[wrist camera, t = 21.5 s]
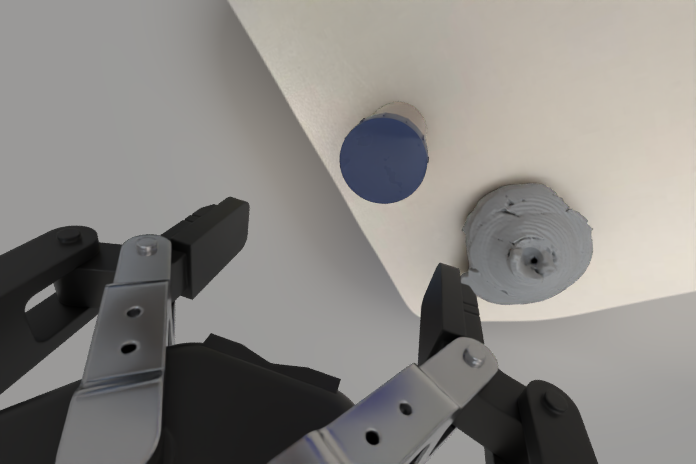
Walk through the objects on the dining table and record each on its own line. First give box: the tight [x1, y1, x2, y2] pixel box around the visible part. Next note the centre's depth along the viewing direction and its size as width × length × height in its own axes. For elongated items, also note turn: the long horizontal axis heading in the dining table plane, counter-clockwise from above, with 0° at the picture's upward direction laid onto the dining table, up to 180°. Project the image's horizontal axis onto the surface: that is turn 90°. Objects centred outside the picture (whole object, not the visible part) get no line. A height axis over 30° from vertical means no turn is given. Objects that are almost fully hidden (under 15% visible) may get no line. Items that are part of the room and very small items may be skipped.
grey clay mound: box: [460, 183, 593, 305], centre depth 30 cm, size 12×12×11 cm
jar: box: [373, 102, 427, 141], centre depth 28 cm, size 6×6×10 cm
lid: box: [340, 112, 429, 204], centre depth 24 cm, size 6×6×2 cm
